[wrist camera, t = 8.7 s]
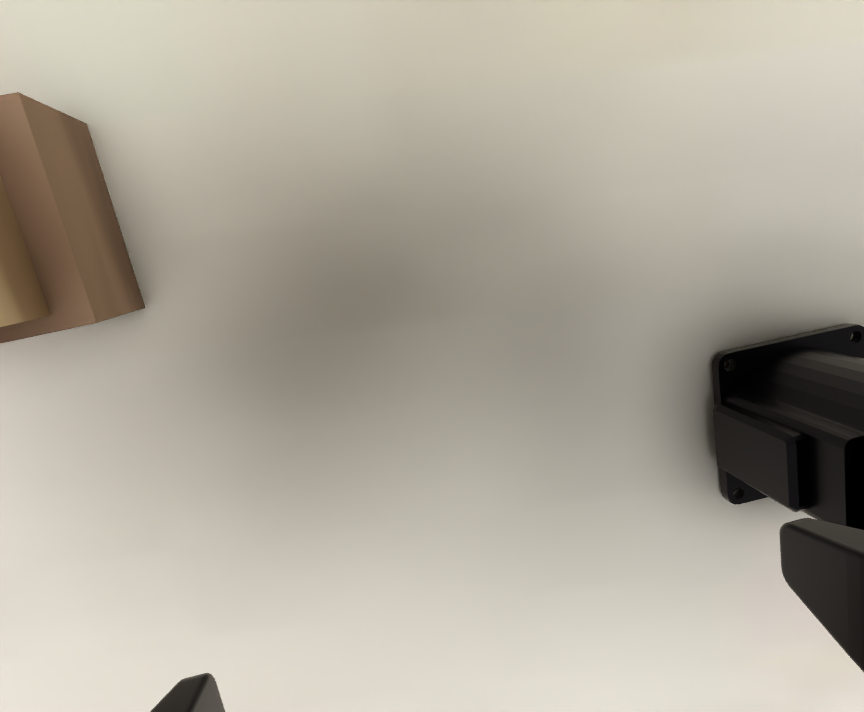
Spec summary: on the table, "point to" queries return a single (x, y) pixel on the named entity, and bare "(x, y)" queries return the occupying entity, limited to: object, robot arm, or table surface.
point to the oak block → (16, 272)
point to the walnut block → (63, 218)
